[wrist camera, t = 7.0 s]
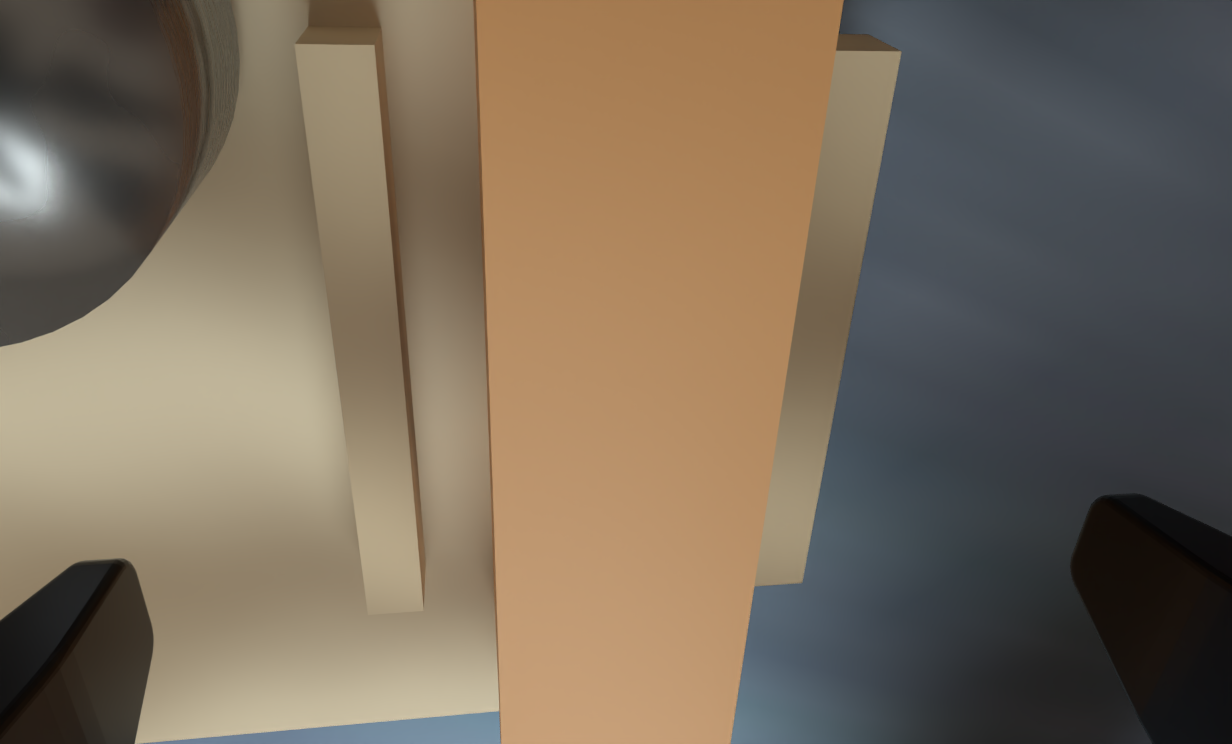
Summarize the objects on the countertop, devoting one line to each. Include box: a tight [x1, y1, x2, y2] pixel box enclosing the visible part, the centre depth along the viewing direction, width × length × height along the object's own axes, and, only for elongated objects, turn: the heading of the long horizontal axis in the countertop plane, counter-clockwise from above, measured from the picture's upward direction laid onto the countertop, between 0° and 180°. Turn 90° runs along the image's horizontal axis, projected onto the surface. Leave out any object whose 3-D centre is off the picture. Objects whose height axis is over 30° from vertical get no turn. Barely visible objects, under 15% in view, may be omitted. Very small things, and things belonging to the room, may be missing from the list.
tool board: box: [0, 0, 902, 744], centre depth 11 cm, size 18×13×4 cm
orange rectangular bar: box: [473, 0, 844, 744], centre depth 11 cm, size 10×3×4 cm, turn 178°
